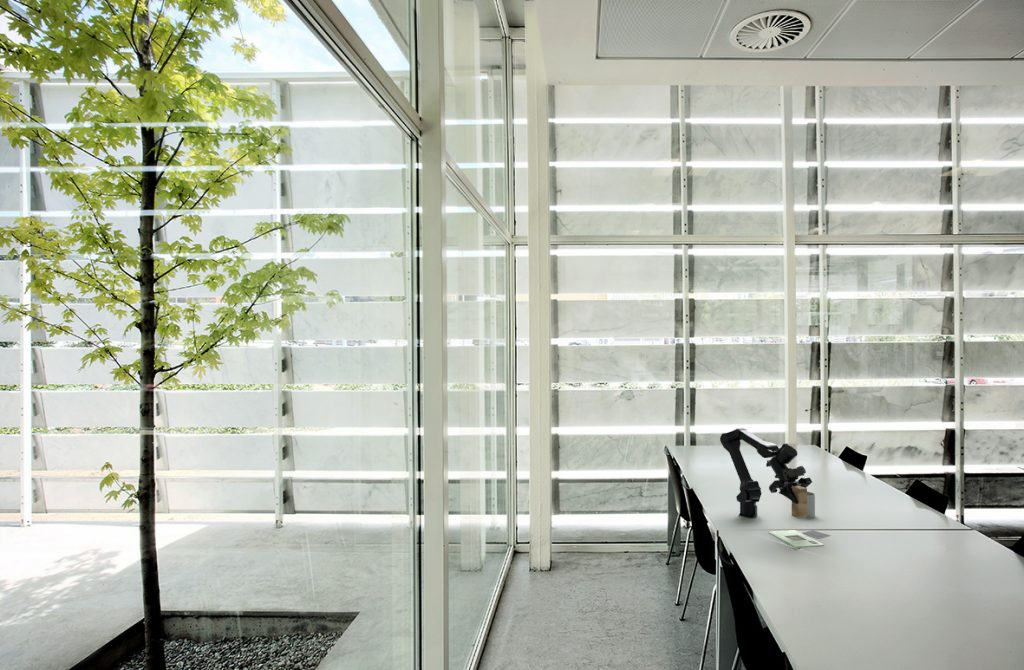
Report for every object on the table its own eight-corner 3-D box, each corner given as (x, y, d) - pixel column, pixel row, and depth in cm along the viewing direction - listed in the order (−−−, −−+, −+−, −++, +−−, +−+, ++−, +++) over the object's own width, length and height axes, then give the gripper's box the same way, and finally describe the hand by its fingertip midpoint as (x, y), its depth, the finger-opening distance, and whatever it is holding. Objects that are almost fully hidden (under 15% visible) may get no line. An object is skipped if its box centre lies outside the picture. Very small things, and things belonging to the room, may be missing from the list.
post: (791, 515, 250) (791, 486, 249) (798, 514, 251) (799, 485, 251) (799, 518, 246) (799, 489, 246) (806, 517, 247) (807, 488, 247)
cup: (803, 518, 270) (803, 496, 270) (790, 513, 278) (790, 491, 278) (819, 517, 273) (819, 494, 273) (805, 512, 280) (805, 490, 281)
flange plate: (768, 534, 249) (768, 531, 249) (795, 532, 251) (795, 529, 251) (795, 549, 232) (795, 545, 232) (824, 547, 234) (824, 544, 234)
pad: (800, 534, 248) (800, 533, 248) (812, 531, 252) (812, 530, 252) (818, 540, 241) (818, 538, 241) (831, 537, 245) (831, 535, 245)
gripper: (774, 461, 249) (795, 495, 238) (809, 457, 255) (830, 490, 245) (760, 475, 256) (779, 509, 246) (794, 472, 263) (814, 504, 252)
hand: (801, 503), depth 247 cm, fingers closed on post, 4 cm apart
